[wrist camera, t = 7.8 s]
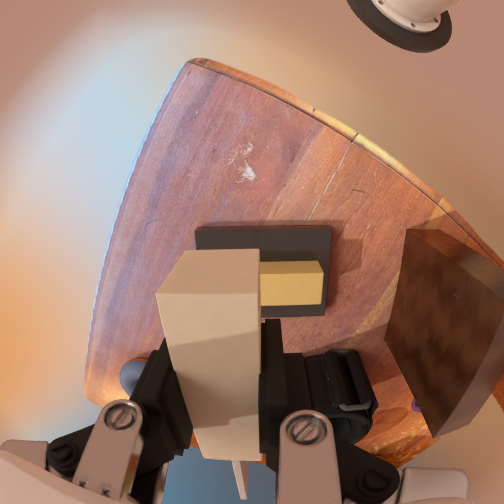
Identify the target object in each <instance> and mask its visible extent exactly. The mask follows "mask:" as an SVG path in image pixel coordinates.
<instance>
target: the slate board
mask: <svg viewBox="0 0 504 504" xmlns="http://www.w3.org/2000/svg"><path fill="white" fill-rule="evenodd" d="M331 235H332V228H331V227H330V226H329V225H274V226H228V227H198V228H197V229H196V230H195V241H196V250H221V249H259V250H260V262H278V261H318V262H319V264H320V266H321V268H322V270H323V273H324V275H323V287H322V298H321V304H310V305H278V306H261V318H264V317H302V316H324V315H325V306H326V297H327V287H328V276H329V264H330V251H331Z"/></svg>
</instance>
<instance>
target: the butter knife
mask: <svg viewBox="0 0 504 504" xmlns="http://www.w3.org/2000/svg"><path fill="white" fill-rule="evenodd" d="M156 298H157V303H158V308H159V312H160V317H161V321H162V326H163V330H164V334H165V338H166V342H167V346H168V350H169V354H170V357H171V361H172V365H173V368H174V371H176V374H177V378H178V381H179V385H180V388H181V391H182V395H183V398H184V401H185V404H186V407H187V410H188V413H189V416H190V419H191V422H192V425H193V431H194V434H195V436H196V439H197V442H198V444H199V447H200V450H201V452H202V454H203V457H204V458H208V459H221V460H232V465H233V469H234V473H235V477H236V481H237V485H238V490H239V493H240V497H241V499H247V491H248V490H247V489H248V464H247V461H262V453H259V420H258V380H259V374H260V373H261V290H260V250H259V249H221V250H186V251H185V252H184V254H183V255H182V257H181V258H180V259H179V261H178V262H177V264H176V265H175V266H174V268H173V269H172V271H171V272H170V274H169V275H168V276H167V278H166V279H165V281H164V282H163V284H162V285H161V287H160V288H159V289H158V291H157V292H156Z"/></svg>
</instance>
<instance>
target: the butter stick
mask: <svg viewBox="0 0 504 504" xmlns="http://www.w3.org/2000/svg"><path fill="white" fill-rule="evenodd" d="M323 275H324V273H323V270H322V268H321V266H320V264H319V262H318V261H278V262H260V290H261V306H278V305H310V304H321V298H322V287H323Z"/></svg>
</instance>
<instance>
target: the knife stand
mask: <svg viewBox="0 0 504 504" xmlns="http://www.w3.org/2000/svg"><path fill="white" fill-rule="evenodd" d="M384 340H385V342H386V343H387V345H388V347H389V349H390V351H391V353H392V354H393V356H394V358H395V360H396V362H397V364H398V366H399V368H400V370H401V372H402V374H403V376H404V378H405V380H406V381H407V383H408V385H409V387H410V390H411V392H412V394H413V396H414V398H415V400H416V402H417V404H418V406H419V408H420V410H421V412H422V415H423V417H424V419H425V421H426V423H427V426H428V428H429V430H430V432H431V435H432V437H433V438H436V437H439V436H442V435H444V434H447V433H449V432H452V431H454V430H457V429H459V428H461V427H464V426H466V425H468V424H470V422H471V421H472V420H473V418H474V417H475V416H476V414H477V413H478V412H479V410H480V409H481V408H482V406H483V405H484V403H485V402H486V400H487V399H488V397H489V396H490V394H491V393H492V391H493V390H494V388H495V387H496V385H497V383H498V382H499V380H500V378H501V377H502V375H503V373H504V270H503V269H502V268H500V267H499V266H497V265H496V264H494V263H493V262H491V261H490V260H488V259H487V258H485V257H484V256H482V255H481V254H479V253H477V252H476V251H474V250H473V249H471V248H469V247H468V246H466V245H465V244H463V243H461V242H460V241H458V240H456V239H455V238H453V237H451V236H449V235H448V234H446V233H444V232H442V231H441V230H418V229H407V230H406V237H405V244H404V251H403V257H402V263H401V269H400V275H399V280H398V285H397V290H396V294H395V299H394V303H393V308H392V312H391V316H390V320H389V324H388V328H387V332H386V335H385V339H384Z"/></svg>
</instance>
